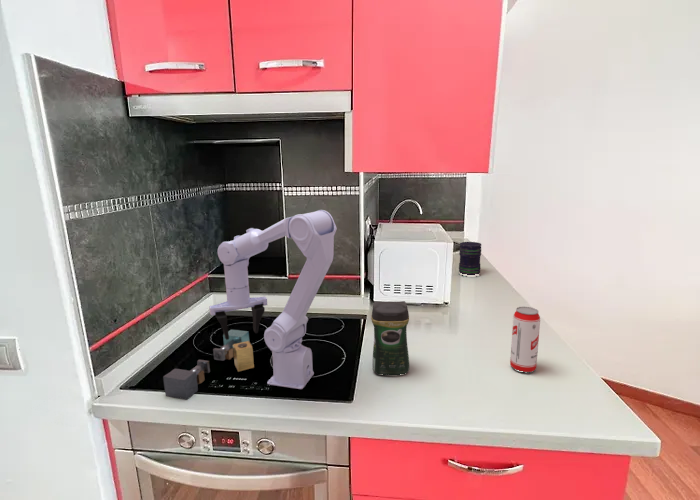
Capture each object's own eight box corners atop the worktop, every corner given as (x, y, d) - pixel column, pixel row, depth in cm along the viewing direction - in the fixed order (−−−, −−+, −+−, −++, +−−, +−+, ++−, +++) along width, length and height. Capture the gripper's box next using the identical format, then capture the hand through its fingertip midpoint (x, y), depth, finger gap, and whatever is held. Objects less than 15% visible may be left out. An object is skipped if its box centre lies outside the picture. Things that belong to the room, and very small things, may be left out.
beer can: (537, 366, 104) (542, 308, 101) (534, 377, 99) (539, 316, 96) (511, 360, 108) (515, 304, 104) (507, 371, 102) (511, 312, 99)
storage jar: (466, 270, 196) (467, 240, 193) (484, 274, 189) (485, 243, 186) (454, 274, 190) (455, 243, 187) (472, 278, 183) (473, 246, 180)
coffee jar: (407, 362, 108) (408, 297, 104) (410, 377, 100) (411, 307, 96) (371, 362, 109) (371, 297, 105) (371, 377, 101) (371, 307, 97)
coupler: (250, 361, 111) (248, 340, 109) (254, 367, 107) (252, 346, 106) (234, 364, 109) (232, 344, 107) (238, 371, 105) (236, 350, 104)
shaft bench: (249, 347, 119) (248, 331, 118) (186, 399, 93) (184, 380, 92) (232, 344, 121) (230, 329, 120) (165, 395, 95) (163, 376, 93)
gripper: (260, 278, 110) (263, 324, 113) (205, 286, 103) (210, 335, 106) (268, 284, 104) (271, 333, 107) (210, 293, 97) (215, 345, 100)
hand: (241, 334), depth 106 cm, fingers open, 7 cm apart
